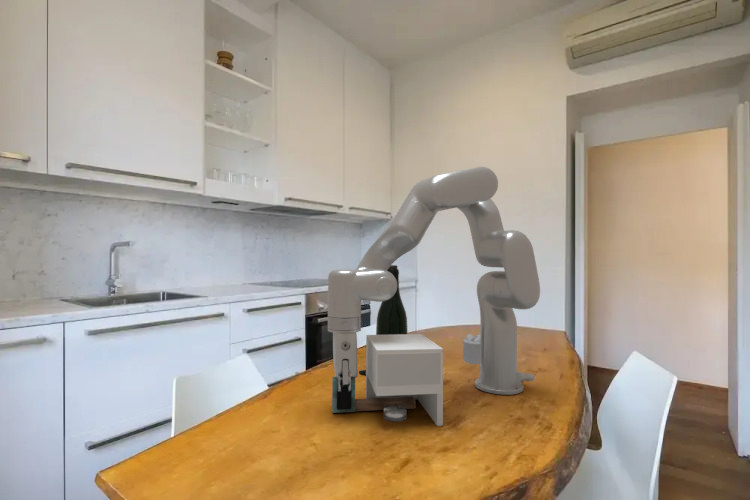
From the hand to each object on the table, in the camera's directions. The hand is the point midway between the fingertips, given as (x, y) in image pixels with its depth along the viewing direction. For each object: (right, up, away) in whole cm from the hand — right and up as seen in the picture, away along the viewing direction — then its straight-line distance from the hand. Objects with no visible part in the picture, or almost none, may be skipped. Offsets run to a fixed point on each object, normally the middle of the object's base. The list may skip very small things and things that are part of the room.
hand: (343, 405), depth 88 cm
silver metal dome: (+11, -2, -3) cm, 12 cm away
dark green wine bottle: (+12, -3, +38) cm, 40 cm away
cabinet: (+13, -2, 0) cm, 13 cm away
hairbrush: (+10, -3, +22) cm, 25 cm away
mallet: (+7, -1, +1) cm, 7 cm away
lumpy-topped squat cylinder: (+43, -4, +48) cm, 65 cm away
